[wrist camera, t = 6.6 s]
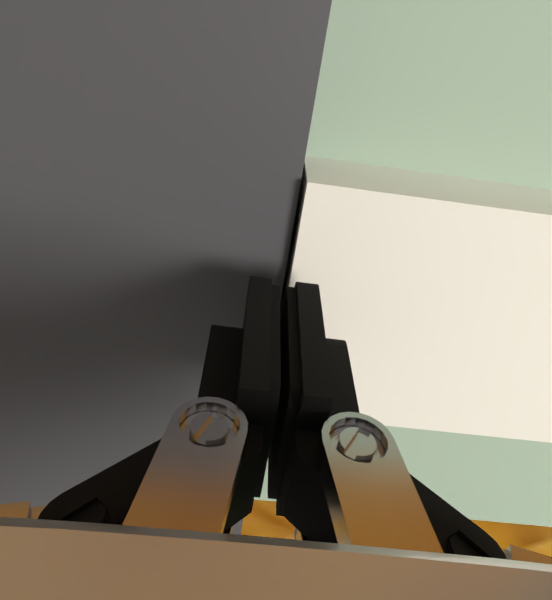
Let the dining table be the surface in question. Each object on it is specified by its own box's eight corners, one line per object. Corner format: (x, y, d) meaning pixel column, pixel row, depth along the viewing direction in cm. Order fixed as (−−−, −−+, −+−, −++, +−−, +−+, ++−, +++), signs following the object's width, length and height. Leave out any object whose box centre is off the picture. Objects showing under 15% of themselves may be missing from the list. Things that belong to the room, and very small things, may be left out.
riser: (-323, -311, 9) (-462, -375, 7) (353, -183, 10) (368, -213, 8) (-74, 462, 20) (-107, 508, 18) (242, 491, 20) (239, 538, 19)
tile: (303, 154, 13) (307, 181, 11) (640, 201, 14) (691, 234, 12) (267, 368, 17) (266, 413, 15) (534, 397, 17) (562, 444, 16)
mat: (353, -183, 10) (355, -187, 10) (1007, -59, 11) (1023, -59, 11) (242, 491, 20) (242, 498, 20) (579, 523, 21) (583, 529, 21)
